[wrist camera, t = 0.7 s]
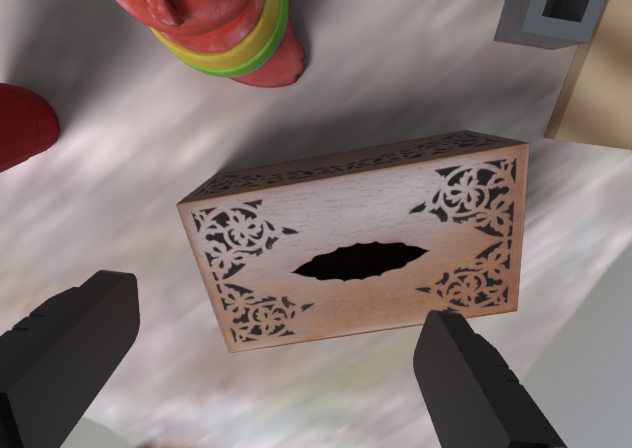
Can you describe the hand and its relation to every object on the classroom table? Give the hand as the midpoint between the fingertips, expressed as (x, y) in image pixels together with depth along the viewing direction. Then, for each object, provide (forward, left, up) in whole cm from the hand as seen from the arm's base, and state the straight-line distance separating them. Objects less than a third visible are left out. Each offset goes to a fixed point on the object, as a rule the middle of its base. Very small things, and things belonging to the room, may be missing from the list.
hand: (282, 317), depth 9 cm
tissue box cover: (+6, +5, -26) cm, 27 cm away
